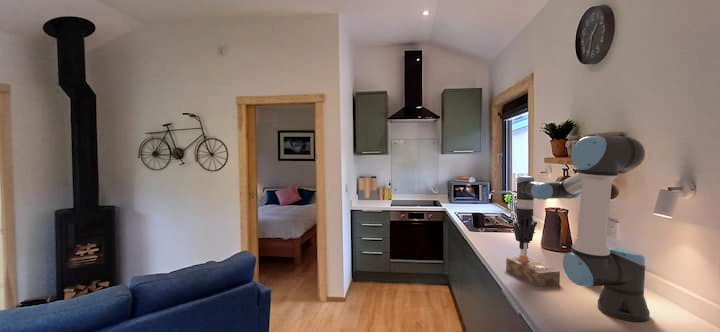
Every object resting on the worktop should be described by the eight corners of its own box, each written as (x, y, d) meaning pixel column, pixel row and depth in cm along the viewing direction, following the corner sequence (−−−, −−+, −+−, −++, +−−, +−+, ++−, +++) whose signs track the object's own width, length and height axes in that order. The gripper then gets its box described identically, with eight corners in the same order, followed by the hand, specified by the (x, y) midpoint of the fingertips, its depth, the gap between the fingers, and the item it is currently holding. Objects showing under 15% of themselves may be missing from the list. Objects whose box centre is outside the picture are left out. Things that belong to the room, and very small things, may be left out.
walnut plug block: (559, 284, 149) (559, 271, 149) (538, 286, 147) (538, 273, 147) (525, 268, 171) (525, 256, 171) (506, 269, 169) (506, 257, 168)
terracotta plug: (529, 269, 163) (530, 257, 163) (522, 269, 162) (522, 257, 162) (524, 266, 167) (524, 254, 166) (517, 267, 166) (517, 255, 166)
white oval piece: (546, 281, 152) (547, 268, 152) (539, 281, 151) (539, 268, 151) (540, 278, 156) (540, 265, 156) (533, 278, 155) (533, 265, 155)
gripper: (530, 206, 168) (529, 252, 169) (508, 206, 165) (506, 254, 166) (541, 208, 161) (540, 257, 162) (518, 209, 158) (517, 258, 159)
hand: (523, 255), depth 164 cm, fingers closed
